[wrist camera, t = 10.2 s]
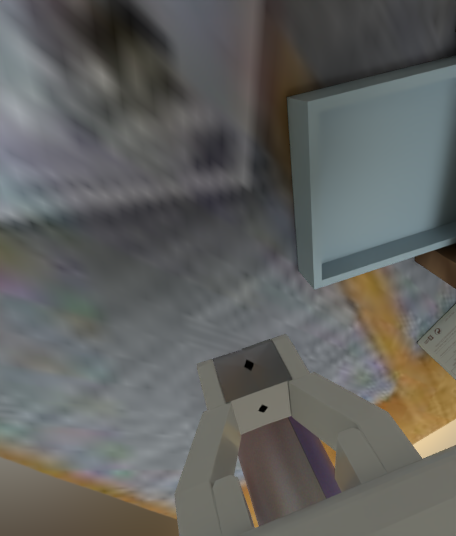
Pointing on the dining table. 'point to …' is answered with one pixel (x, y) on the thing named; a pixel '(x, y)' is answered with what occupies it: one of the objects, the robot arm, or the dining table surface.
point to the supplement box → (442, 342)
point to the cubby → (441, 263)
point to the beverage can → (285, 469)
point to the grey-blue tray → (374, 170)
